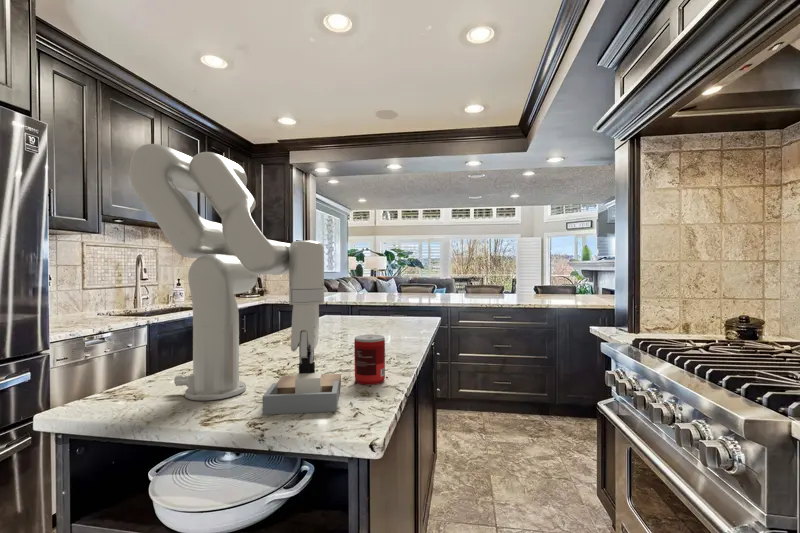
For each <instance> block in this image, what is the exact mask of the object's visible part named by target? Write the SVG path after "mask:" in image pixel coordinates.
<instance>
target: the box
mask: <svg viewBox="0 0 800 533" xmlns="http://www.w3.org/2000/svg"><path fill="white" fill-rule="evenodd" d="M339 397H340V393H339V381H334V384H333V389H332V392H321V393H296V394H278V383H277V382H276V383H275V382H274V383H272V384H271V385H270V386H269V387H268V389H267V390H266V392H265V393H264V394H263V395H262V416H264V415H266V416H267V415H269V416H270V415H286V414H289V415H291V414H312V413H331V412H337V411H338V406H339V399H340V398H339Z"/></svg>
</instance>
